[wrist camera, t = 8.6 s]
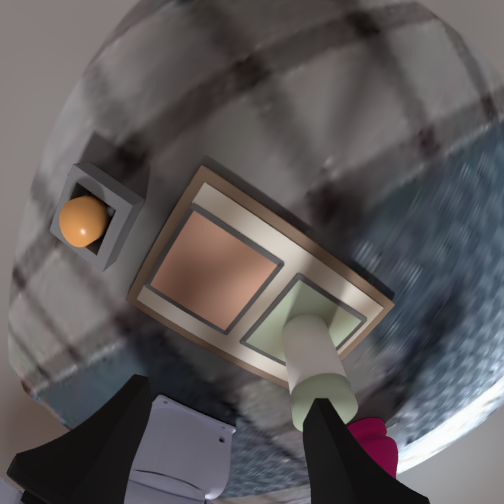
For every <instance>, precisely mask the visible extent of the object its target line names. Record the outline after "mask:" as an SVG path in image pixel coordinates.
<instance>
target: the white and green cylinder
mask: <svg viewBox="0 0 504 504" xmlns="http://www.w3.org/2000/svg"><path fill="white" fill-rule="evenodd" d="M282 341H283V348H284V355H285V361H286V368H287V375H288V382H289V389H290V402H291V409H292V417H293V424H294V426H295V427H296V428H297V429H298V430H300V431H303V421H304V419H305V418H306V416H307V414H308V412H309V410H310V407H311V405H312V403H313V401H314V399H315V398H328V399H329V400H330V401H331V403H332V405H333V406H334V408H335V409H336V411H337V413H338V414H339V416H340V417H341V419H342V420H343V422H344V423H345V424H346V423H348V422H349V421H350V420H351V419H352V418H353V417H354V416H355V415H356V413H357V410H358V404H357V402H356V399H355V396H354V393H353V391H352V388H351V385H350V382H349V381H348V379H347V377H346V374H345V372H344V369H343V366H342V364H341V361H340V358H339V356H338V353H337V351H336V348H335V345H334V343H333V340H332V338H331V335H330V333H329V330H328V328H327V325H326V323H325V321H324V320H323V319H322V318H321V317H319V316H317V315H313V314H302V315H299V316H296V317H294V318H292V319H291V320H289V321H288V322H287V323H286V325H285V326H284V328H283V330H282Z"/></svg>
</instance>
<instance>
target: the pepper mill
mask: <svg viewBox="0 0 504 504" xmlns="http://www.w3.org/2000/svg"><path fill="white" fill-rule="evenodd" d="M347 428H348V429H349V430H350V432H351V433H352V435H353V436H354V437H355V439H356V440H357V441H358V442H359V444H360V445H361V446H362V447H363V449H364V450H365V451H366V452H367V453H368V454H369V455H370V456H371V458H372V459H373V460H374V461H375V462H376V463H377V464H378V465H379V466H381V467H382V468H383V469H384V470H385V471H386V472H387V473H389V474H390V475H391V476H393V477H394V478H395V479H396V471H397V464H398V449H397V445H396V442H395V441H394V440H393V439H392V438H390V437H388V436H385V435H386V433H387V430H386V427H385V425H384V422H383V420H382V419H380V418H373V417H372V418H365V419H362V420H359V421H356V422H354V423H352V424H350V425H348V426H347Z"/></svg>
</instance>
